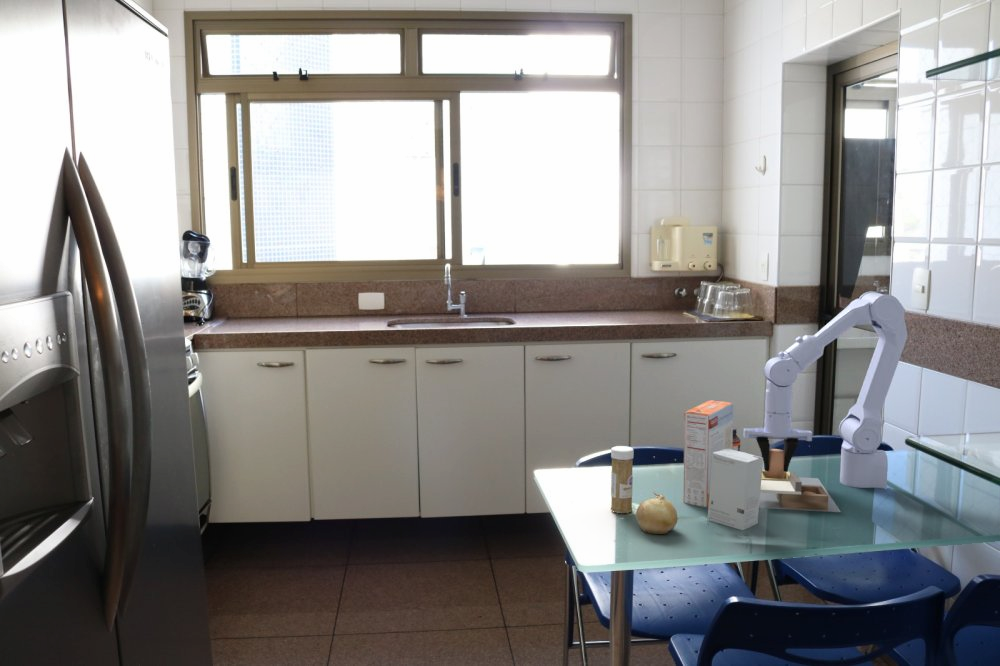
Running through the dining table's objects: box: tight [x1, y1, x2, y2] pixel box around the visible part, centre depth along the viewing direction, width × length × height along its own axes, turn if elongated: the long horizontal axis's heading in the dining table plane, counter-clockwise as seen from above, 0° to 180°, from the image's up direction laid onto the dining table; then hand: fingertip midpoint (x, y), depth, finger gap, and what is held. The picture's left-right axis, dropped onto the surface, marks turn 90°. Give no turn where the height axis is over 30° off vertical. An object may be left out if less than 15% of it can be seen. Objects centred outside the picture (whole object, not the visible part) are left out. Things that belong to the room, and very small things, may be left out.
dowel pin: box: [767, 448, 785, 479], centre depth 191 cm, size 4×4×6 cm
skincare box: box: [706, 449, 764, 531], centre depth 166 cm, size 8×6×15 cm
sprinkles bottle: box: [610, 445, 635, 514], centre depth 175 cm, size 5×5×14 cm
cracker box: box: [682, 399, 734, 509], centre depth 181 cm, size 14×6×21 cm, turn 145°
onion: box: [635, 491, 679, 535], centre depth 165 cm, size 8×8×7 cm
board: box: [759, 469, 842, 513], centre depth 184 cm, size 16×23×3 cm
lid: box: [760, 471, 802, 495], centre depth 177 cm, size 8×7×3 cm
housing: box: [776, 485, 828, 511], centre depth 177 cm, size 9×7×3 cm
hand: (775, 470), depth 192 cm, fingers closed on dowel pin, 3 cm apart
